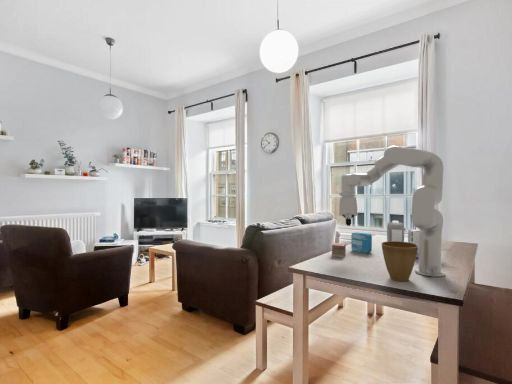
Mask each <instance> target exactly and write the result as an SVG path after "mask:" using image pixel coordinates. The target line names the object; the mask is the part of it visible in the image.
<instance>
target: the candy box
mask: <svg viewBox="0 0 512 384" xmlns="http://www.w3.org/2000/svg"><path fill="white" fill-rule="evenodd" d="M419 230H420V229H407V242H409V243H413V244H416V245H418V249H417V254H416V259H417V260H419ZM416 259H415V260H416Z"/></svg>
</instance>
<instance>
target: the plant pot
mask: <svg viewBox="0 0 512 384" xmlns="http://www.w3.org/2000/svg"><path fill="white" fill-rule="evenodd" d="M417 249H418V245H416V244H413V243H409V242H408V241H404V242H399V241H388V242H387V241H382V242H381V250H382V255H383V259H384V264H385V268H386V271H387V272H388V275H389V278H390V279H391V280H393V281H396V282H408V281H409V279H410V278H411V275H412V272H413V269H414V268H415V267H414V266H415V262H416V254H417Z"/></svg>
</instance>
